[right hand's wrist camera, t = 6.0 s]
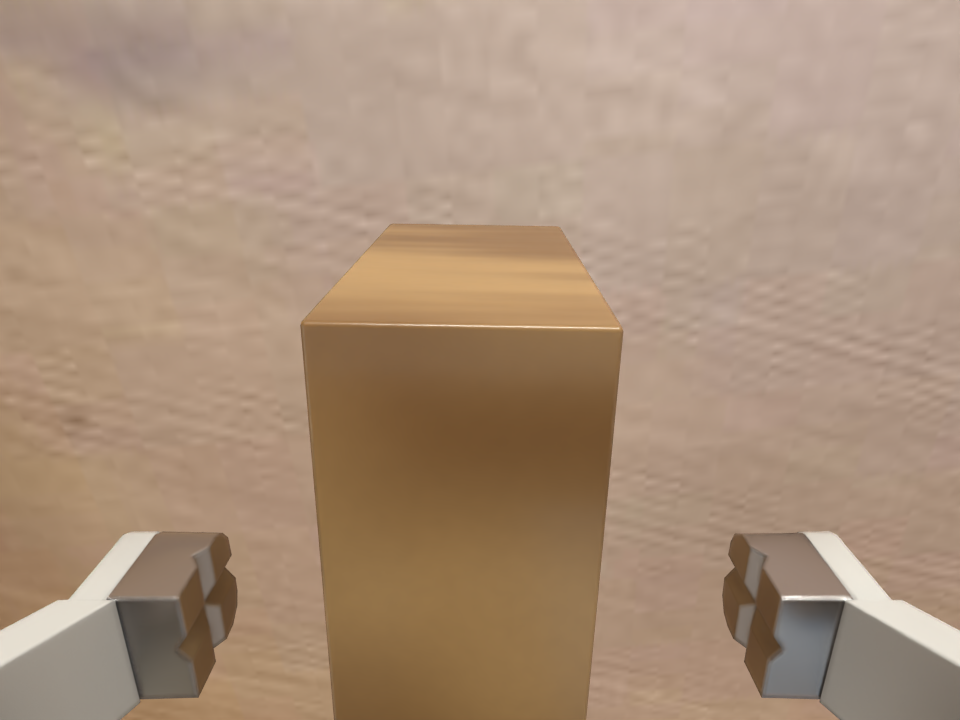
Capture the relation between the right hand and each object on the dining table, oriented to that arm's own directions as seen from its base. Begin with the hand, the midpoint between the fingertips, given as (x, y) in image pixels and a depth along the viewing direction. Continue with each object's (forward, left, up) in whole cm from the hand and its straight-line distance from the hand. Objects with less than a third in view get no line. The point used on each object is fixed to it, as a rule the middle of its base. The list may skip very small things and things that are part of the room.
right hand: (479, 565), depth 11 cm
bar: (+3, +8, -9) cm, 12 cm away
